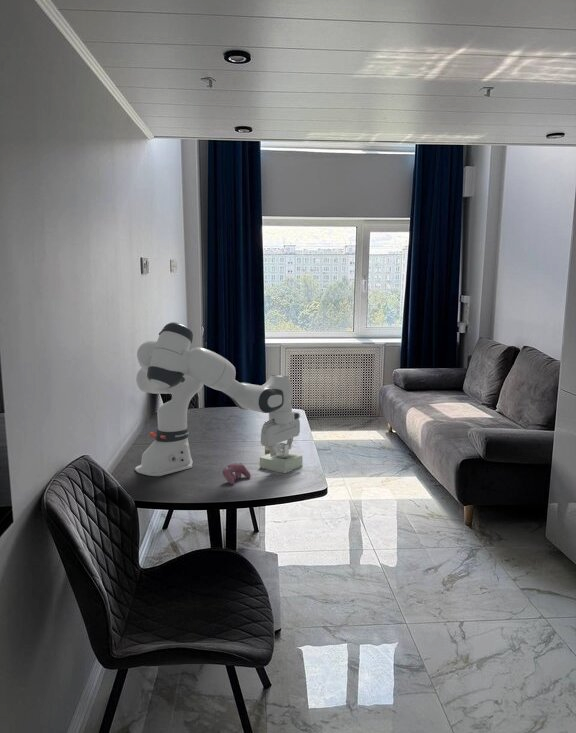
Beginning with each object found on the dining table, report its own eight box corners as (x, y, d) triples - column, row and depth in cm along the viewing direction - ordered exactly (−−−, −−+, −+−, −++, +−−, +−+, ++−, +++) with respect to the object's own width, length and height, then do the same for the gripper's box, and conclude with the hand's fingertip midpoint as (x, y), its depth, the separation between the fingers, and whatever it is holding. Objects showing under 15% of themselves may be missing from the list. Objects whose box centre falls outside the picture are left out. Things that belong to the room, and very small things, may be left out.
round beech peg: (272, 460, 233) (271, 440, 231) (262, 458, 236) (262, 438, 234) (280, 457, 237) (279, 438, 235) (270, 455, 240) (269, 436, 238)
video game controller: (244, 480, 215) (237, 461, 216) (252, 476, 212) (245, 458, 213) (225, 487, 208) (218, 468, 209) (233, 484, 205) (226, 465, 206)
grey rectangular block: (284, 468, 222) (284, 445, 221) (273, 466, 226) (273, 443, 224) (288, 467, 224) (288, 444, 223) (277, 464, 228) (277, 441, 226)
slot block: (285, 473, 217) (284, 462, 217) (259, 467, 224) (259, 457, 224) (302, 465, 226) (302, 455, 225) (277, 460, 233) (277, 450, 232)
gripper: (269, 423, 212) (270, 460, 214) (302, 412, 228) (302, 447, 230) (256, 421, 216) (256, 457, 218) (289, 410, 232) (289, 444, 234)
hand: (280, 452), depth 224 cm, fingers open, 8 cm apart
